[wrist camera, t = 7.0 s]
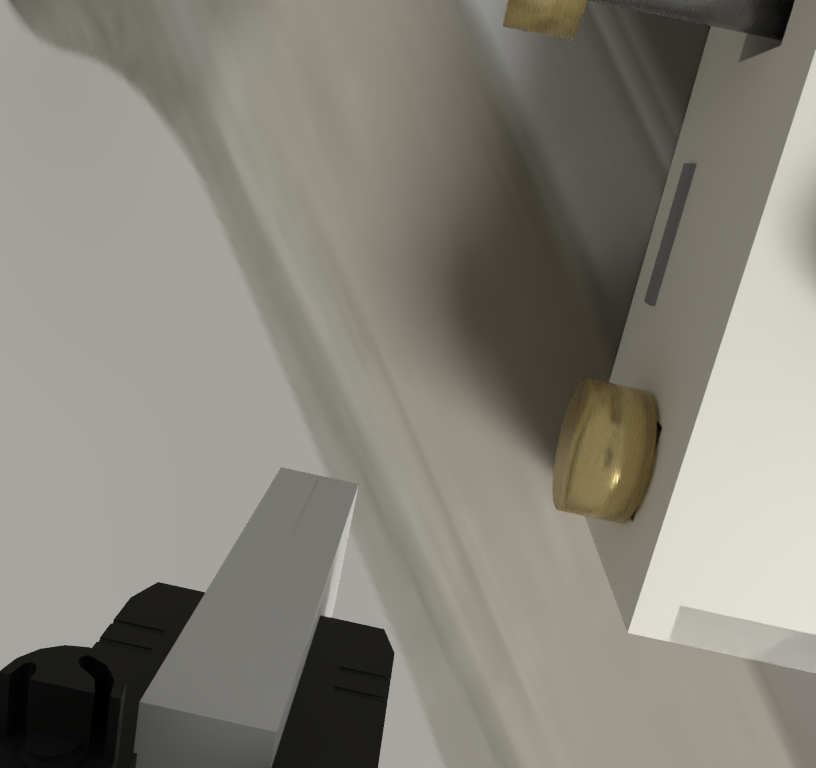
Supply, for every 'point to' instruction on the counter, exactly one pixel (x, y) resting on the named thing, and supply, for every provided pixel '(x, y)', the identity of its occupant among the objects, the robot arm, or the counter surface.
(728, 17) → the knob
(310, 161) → the counter surface
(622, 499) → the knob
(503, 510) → the counter surface
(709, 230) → the console
